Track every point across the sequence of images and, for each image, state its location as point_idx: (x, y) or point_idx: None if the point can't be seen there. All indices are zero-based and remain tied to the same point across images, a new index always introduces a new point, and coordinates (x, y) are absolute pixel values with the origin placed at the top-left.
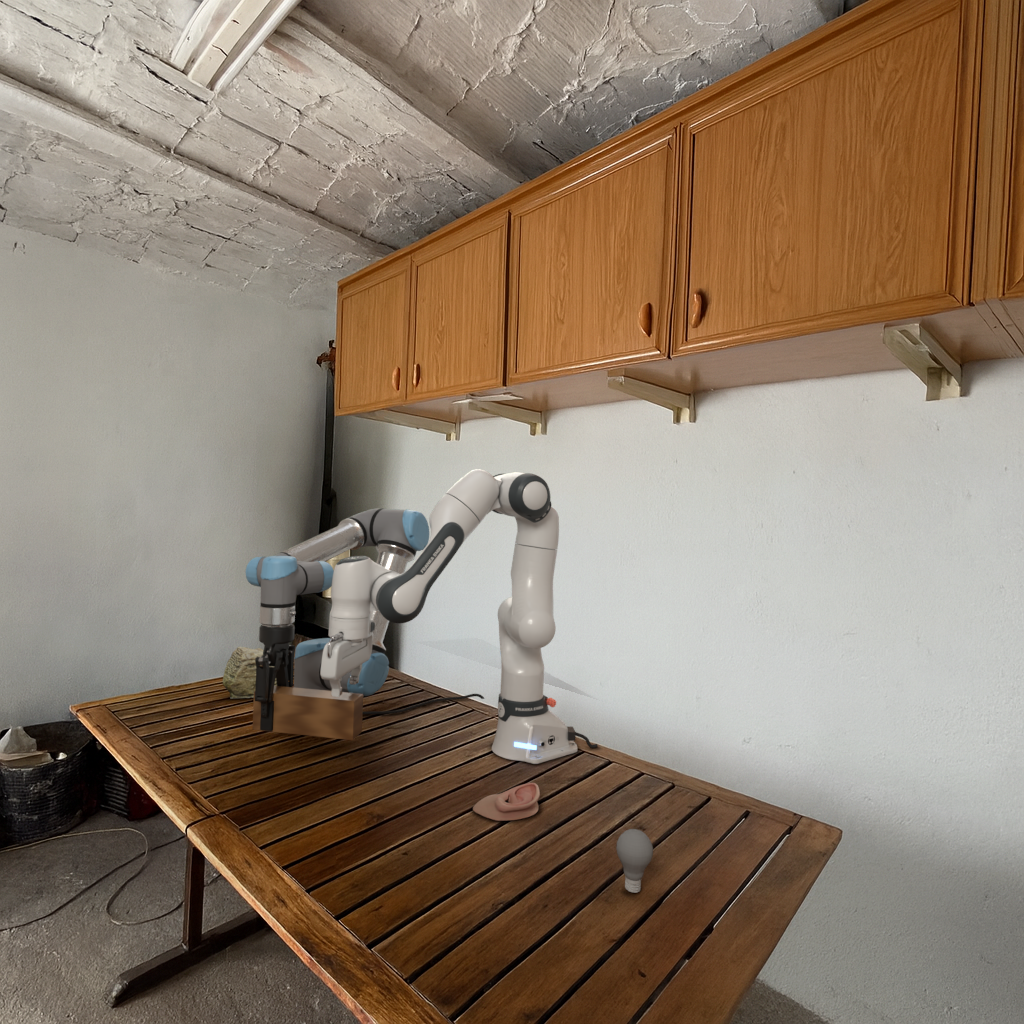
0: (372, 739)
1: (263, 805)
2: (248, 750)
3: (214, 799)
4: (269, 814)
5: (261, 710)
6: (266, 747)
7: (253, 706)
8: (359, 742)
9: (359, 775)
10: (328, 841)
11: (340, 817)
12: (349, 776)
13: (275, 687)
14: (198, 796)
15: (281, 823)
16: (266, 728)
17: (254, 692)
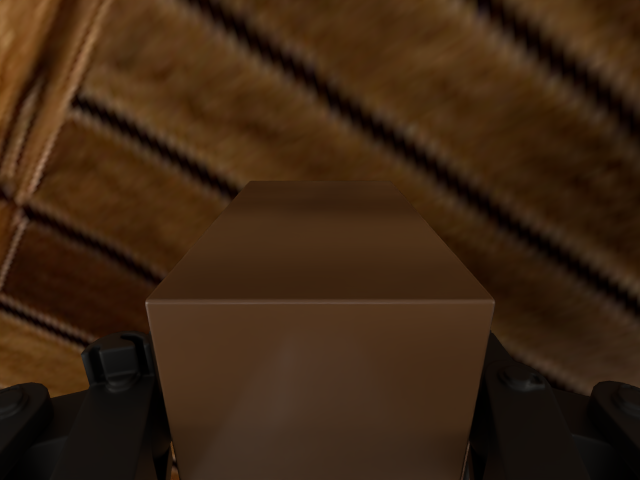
0: (613, 380)
1: (114, 291)
2: (487, 3)
3: (79, 138)
4: (82, 327)
5: (150, 336)
6: (526, 66)
7: (207, 229)
8: (587, 356)
9: None
10: None
11: None
12: None
13: (393, 450)
14: (70, 69)
15: (61, 369)
16: None
17: (148, 304)
